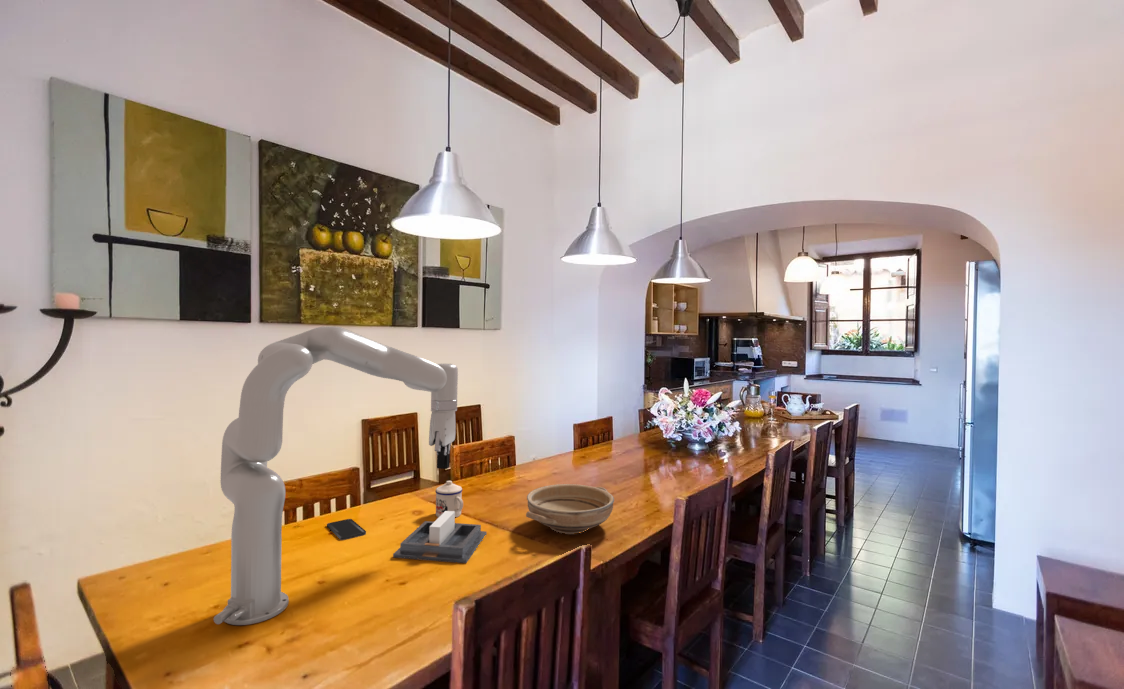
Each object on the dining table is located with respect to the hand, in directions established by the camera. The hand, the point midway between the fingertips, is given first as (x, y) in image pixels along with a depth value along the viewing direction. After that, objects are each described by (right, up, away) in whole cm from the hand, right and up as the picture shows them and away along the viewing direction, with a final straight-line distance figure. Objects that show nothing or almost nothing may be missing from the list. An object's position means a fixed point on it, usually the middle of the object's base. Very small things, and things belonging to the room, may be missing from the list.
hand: (443, 467), depth 147 cm
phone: (-33, -23, +11) cm, 42 cm away
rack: (0, -23, 0) cm, 23 cm away
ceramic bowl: (+37, -24, +17) cm, 47 cm away
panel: (0, -22, 0) cm, 22 cm away
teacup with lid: (-3, -23, +25) cm, 34 cm away
